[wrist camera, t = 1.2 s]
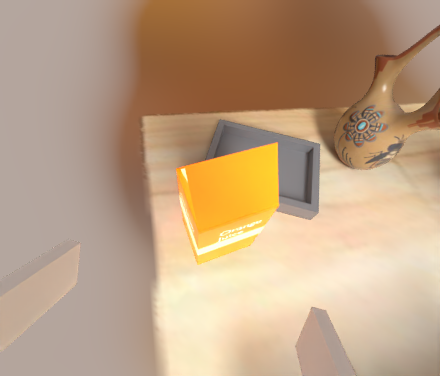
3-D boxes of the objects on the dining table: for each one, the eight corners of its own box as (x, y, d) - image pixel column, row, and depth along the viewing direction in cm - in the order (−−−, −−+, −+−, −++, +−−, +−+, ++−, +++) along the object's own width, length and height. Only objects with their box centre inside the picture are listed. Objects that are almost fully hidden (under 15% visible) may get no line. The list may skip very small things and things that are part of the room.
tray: (313, 153, 46) (320, 144, 44) (310, 219, 39) (318, 212, 36) (218, 130, 47) (219, 119, 45) (197, 190, 40) (197, 181, 37)
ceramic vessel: (310, 129, 50) (398, -15, 28) (346, 125, 52) (454, -14, 30) (347, 194, 42) (505, 63, 21) (387, 187, 44) (572, 59, 22)
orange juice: (250, 245, 36) (302, 177, 18) (197, 266, 33) (198, 209, 16) (231, 203, 39) (259, 111, 22) (181, 219, 37) (169, 130, 20)
